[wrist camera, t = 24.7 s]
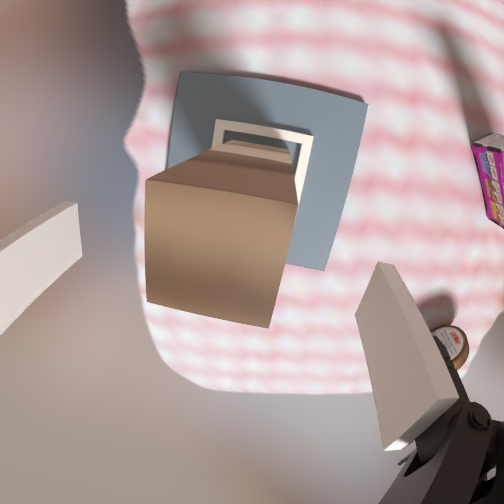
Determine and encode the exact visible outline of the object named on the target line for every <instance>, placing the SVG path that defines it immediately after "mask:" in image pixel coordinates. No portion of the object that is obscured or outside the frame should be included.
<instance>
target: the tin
mask: <svg viewBox="0 0 504 504" xmlns="http://www.w3.org/2000/svg"><path fill="white" fill-rule="evenodd" d="M431 334H432V335H433V336H437V337H438V339H439V340H440V341H441V342H442V343H443V344H444V345H445V347H446V349H447V351H448V353H449V355H450V357H451V358H450V360H452V361H453V364H454V366H455V369H456V370H458V369H460V368H461V367H462V366H463V364H464V363H465V361H466V360H467V358H468V355H469V344H468V340H467V337H466V334H465V333H464V331H463V330H461V329H460V328H459V327H456V326H451V325H447V326H442V327H439V328H437V329H435V330H433V331H431Z"/></svg>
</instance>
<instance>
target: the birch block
mask: <svg viewBox="0 0 504 504" xmlns="http://www.w3.org/2000/svg"><path fill="white" fill-rule="evenodd" d="M208 150H209V151H216V152H224V153H231V154H237V155H244V156H250V157H256V158H261V159H267V160H273V161H278V162H283V163H288V164H292V162H291V156H290V150H287V149H282V148H277V147H272V146H267V145H261V144H255V143H249V142H243V141H237V140H231V141H228V142H226V143H223V144H221V145H218V146H216V147H213V148H211V149H208Z"/></svg>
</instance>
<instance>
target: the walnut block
mask: <svg viewBox="0 0 504 504" xmlns="http://www.w3.org/2000/svg"><path fill="white" fill-rule="evenodd" d="M297 209H298V199H297V192H296V185H295V179H294V173H293V167H292V164H288V163H283V162H278V161H273V160H267V159H261V158H256V157H250V156H244V155H237V154H231V153H224V152H216V151H209V150H208V151H206V152H204V153H201V154H199V155H197V156H195V157H192V158H190V159H188V160H186V161H183V162H181V163H179V164H177V165H175V166H173V167H171V168H169V169H166V170H164V171H162V172H160V173H158V174H156V175H154V176H152V177H150V178H148V179H146V184H145V275H146V294H147V302H150V303H154V304H158V305H162V306H166V307H170V308H174V309H178V310H182V311H186V312H191V313H195V314H199V315H204V316H208V317H213V318H218V319H222V320H227V321H232V322H237V323H242V324H247V325H253V326H258V327H263V328H269V325H270V321H271V317H272V313H273V309H274V305H275V302H276V298H277V294H278V290H279V286H280V282H281V277H282V273H283V269H284V265H285V261H286V257H287V253H288V248H289V244H290V240H291V236H292V231H293V227H294V222H295V218H296V214H297Z"/></svg>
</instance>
